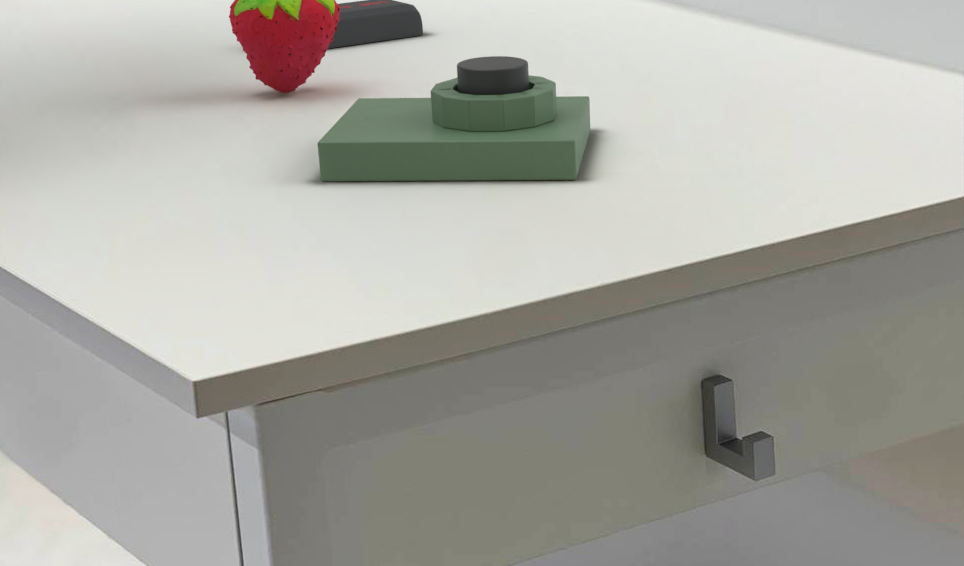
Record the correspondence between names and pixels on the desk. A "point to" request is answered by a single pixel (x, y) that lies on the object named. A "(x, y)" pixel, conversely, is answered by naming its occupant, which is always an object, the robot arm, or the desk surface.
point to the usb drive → (375, 22)
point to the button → (492, 75)
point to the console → (459, 137)
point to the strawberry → (284, 37)
